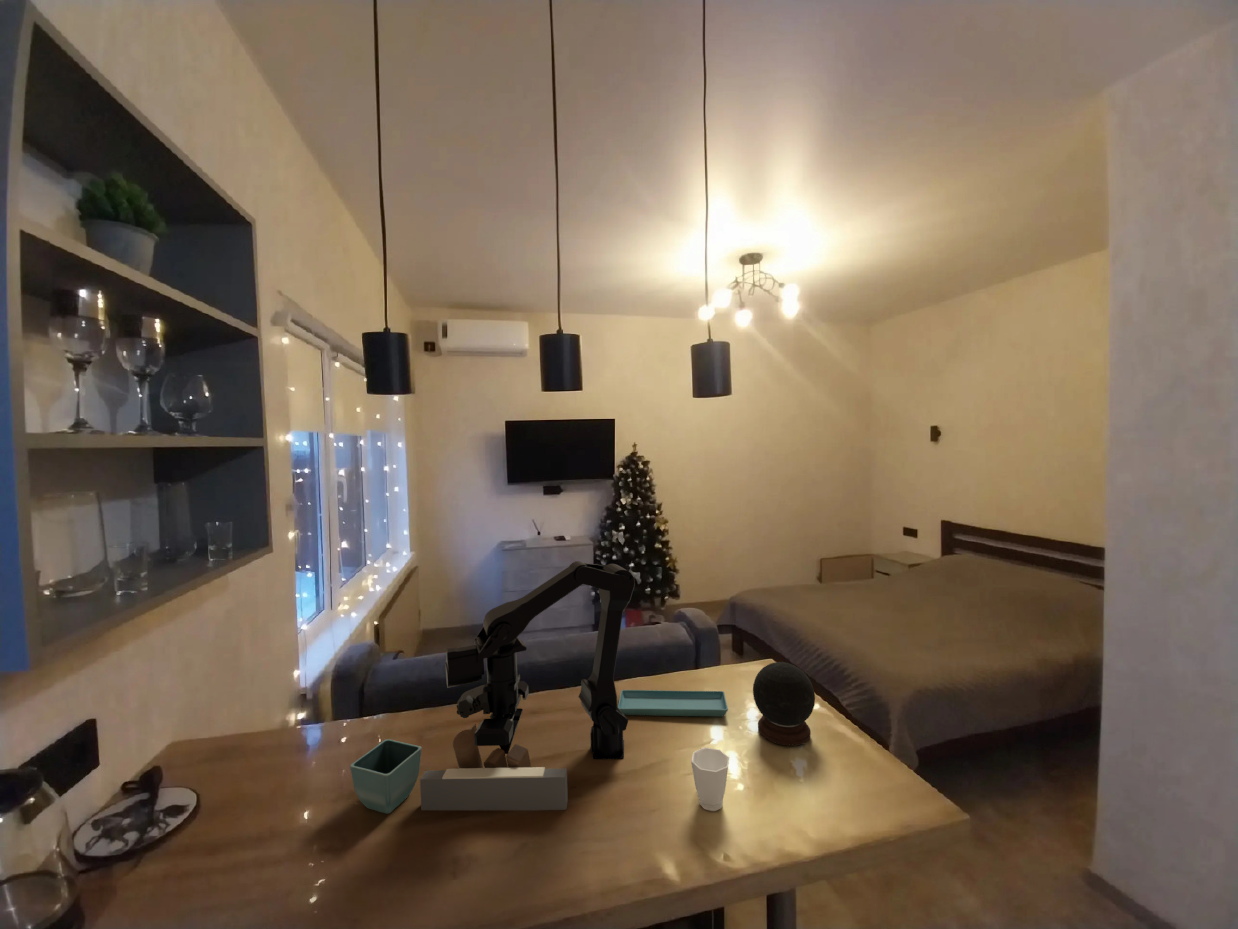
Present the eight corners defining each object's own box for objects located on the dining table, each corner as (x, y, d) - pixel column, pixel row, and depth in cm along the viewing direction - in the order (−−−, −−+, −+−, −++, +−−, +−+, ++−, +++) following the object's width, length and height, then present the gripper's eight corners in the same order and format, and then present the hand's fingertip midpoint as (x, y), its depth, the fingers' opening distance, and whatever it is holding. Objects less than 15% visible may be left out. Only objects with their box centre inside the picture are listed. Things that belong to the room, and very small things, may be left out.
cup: (696, 818, 86) (695, 773, 86) (683, 780, 96) (683, 739, 96) (736, 815, 87) (735, 770, 87) (719, 777, 97) (718, 736, 97)
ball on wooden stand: (743, 733, 111) (742, 667, 110) (768, 708, 121) (767, 647, 120) (802, 756, 102) (801, 684, 102) (824, 727, 112) (823, 662, 112)
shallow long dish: (617, 717, 120) (617, 706, 120) (621, 697, 129) (621, 688, 129) (728, 720, 117) (728, 710, 117) (724, 700, 126) (724, 690, 126)
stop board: (567, 800, 91) (566, 766, 91) (566, 810, 89) (565, 775, 89) (426, 802, 92) (425, 769, 92) (421, 812, 89) (419, 777, 89)
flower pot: (425, 792, 95) (423, 745, 94) (389, 826, 86) (387, 775, 86) (388, 782, 98) (386, 738, 97) (350, 815, 89) (348, 766, 89)
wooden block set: (539, 768, 98) (532, 731, 94) (511, 809, 91) (503, 771, 87) (469, 736, 106) (460, 700, 102) (439, 772, 99) (428, 735, 95)
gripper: (475, 655, 107) (478, 726, 107) (443, 701, 88) (447, 787, 89) (527, 654, 106) (530, 725, 107) (506, 699, 88) (510, 785, 88)
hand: (505, 753), depth 98 cm, fingers closed
